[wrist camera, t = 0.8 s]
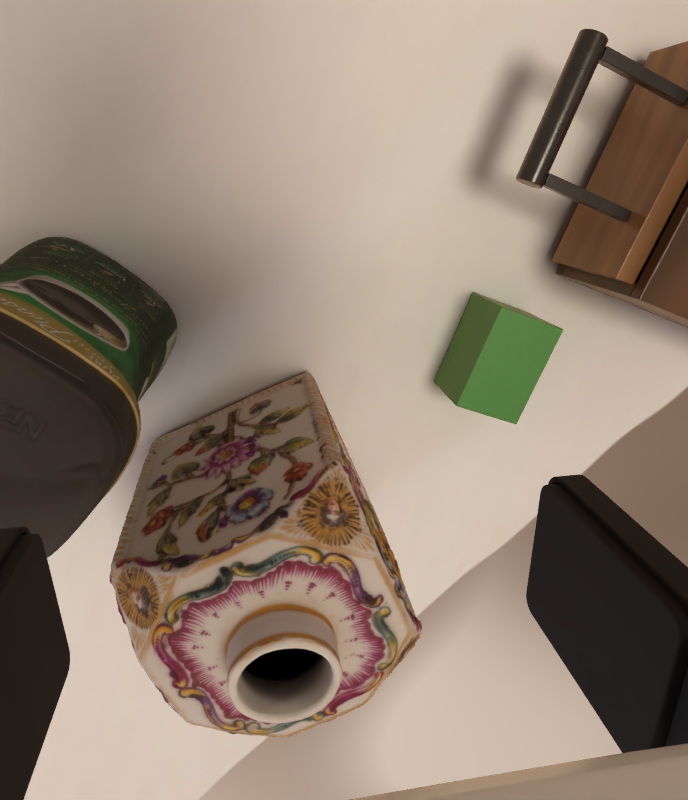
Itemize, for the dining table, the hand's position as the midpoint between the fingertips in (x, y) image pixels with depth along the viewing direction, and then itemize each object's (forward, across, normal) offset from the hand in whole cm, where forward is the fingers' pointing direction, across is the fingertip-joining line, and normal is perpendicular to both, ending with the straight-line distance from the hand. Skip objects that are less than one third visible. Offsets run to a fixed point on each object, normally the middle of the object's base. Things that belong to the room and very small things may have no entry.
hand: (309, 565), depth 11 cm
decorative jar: (+26, +1, +12) cm, 29 cm away
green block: (+26, -14, +4) cm, 30 cm away
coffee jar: (+26, +10, +1) cm, 28 cm away
